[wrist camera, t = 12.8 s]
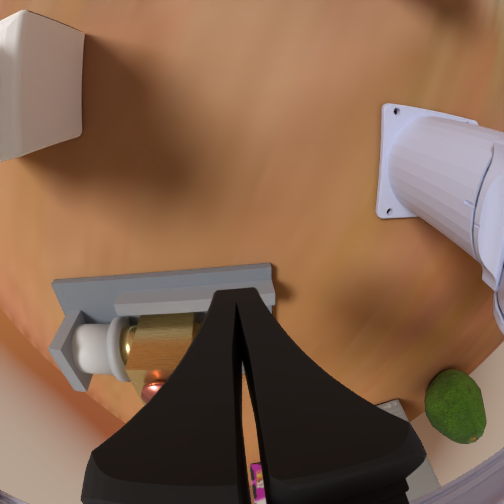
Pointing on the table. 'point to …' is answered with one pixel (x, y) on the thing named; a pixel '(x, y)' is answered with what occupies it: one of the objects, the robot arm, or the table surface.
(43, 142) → the medicine bottle
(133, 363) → the valve
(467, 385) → the avocado
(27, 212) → the table surface
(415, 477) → the skincare box
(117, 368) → the grey piece
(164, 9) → the table surface
